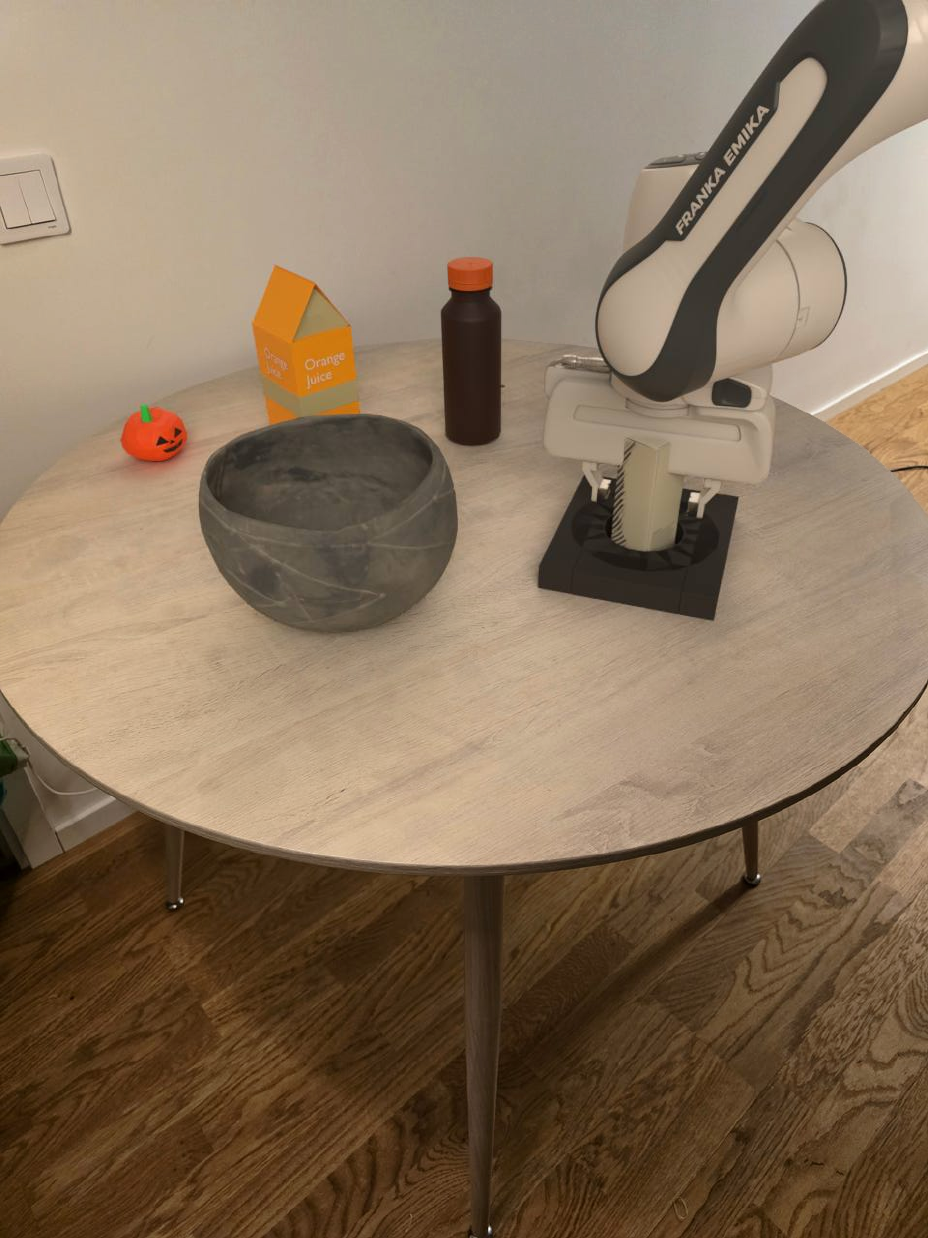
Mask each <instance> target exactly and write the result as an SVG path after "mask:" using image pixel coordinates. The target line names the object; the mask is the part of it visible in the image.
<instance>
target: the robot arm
mask: <svg viewBox="0 0 928 1238" xmlns="http://www.w3.org/2000/svg"><path fill="white" fill-rule="evenodd" d="M927 120H928V0H819V1H818V2H817V3H816V4H815V6H813V7H812V9H811V10H810V11H809V12H808V13H807V14H806V15H805V16H804V18H803V19H802V20H801V21H800V22H799V23H798V25H797V26H796V27H795V28H794V29H793V30H792V32H791V33H790V34H789V35H788V37H787V38H786V39H785V40H784V42H783V43H782V44H781V46H780V47H779V48H778V50H776V52H775V54H774V55H773V56H772V58H770V60H769V62H768V63H767V65H766V66H765V67H764V69H763V70H762V72H761V73H760V74H759V76H758V77H757V78H756V80H755V81H754V82H753V84H752V86H751V87H750V89H749V90H748V92H747V93H746V95H745V96H744V97H743V99H742V100H741V102H740V103H739V105H738V106H737V108H736V109H735V111H734V112H733V113H732V115H731V117H730V118H729V119H728V120H727V123H726V124H725V125H724V127H723V128H722V130H721V132H720V133H719V134H718V135H717V137H716V139H715V140H714V142H713V143H712V145H711V146H710V148H709V149H708V151H699V152H696V153H684V154H679V155H672V156H667V157H660V158H658V159H656V160H654V161H651V162H650V163H648V164H647V165H646V166H645V167H644V168H642V169H641V171H640V173H638V176H637V179H636V181H635V184H634V187H633V189H632V193H631V198H630V201H629V204H628V210H627V216H626V221H625V227H624V234H623V242H622V251H621V255H620V257H619V258H618V259H617V260H616V262H615V263H614V265H613V267H612V268H611V269H610V272H609V273H608V275H607V277H606V279H605V282H604V284H603V286H602V289H601V291H600V294H599V297H598V302H597V306H596V311H595V318H594V332H595V339H596V344H597V348H598V351H599V354H600V355H601V357H593V356H592V357H587V356H586V357H585V356H578V355H576V354H563V355H562V357H561V358H557V359H554V360H553V361H551V362H550V363H548V365H547V367H546V368H545V371H544V393H545V395H546V398H547V399H548V404H547V409H546V413H545V419H544V424H543V431H542V446H543V448H544V449H545V451H546V452H547V453H548V455H549V456H551V457H555V458H562V459H569V460H576V461H577V460H578V461H582V462H581V471H582V473H583V475H584V474H585V476H586V478H587V480H588V482H589V483H590V485H591V486H592V498H591V500H592V501H593V502H599V503H607V502H608V499H609V496H610V487H611V480H607V479H603V477H604V476H603V475H602V473H601V471H600V468H599V466H600V464H605V465H612V466H617V467H618V466H620V465H622V463H623V461H624V439H625V438H629V437H633V438H643V439H652V440H660V441H665V442H669V443H671V448H670V456H669V463H668V473H673V474H680V475H684V476H686V477H687V476H689V477H693V478H701V479H705V480H704V488H703V489H702V490H700V491H701V492H700V493H694V492H691V494H690V498H689V502H688V507H687V508H688V509H687V514H686V516H690V517H696V518H702V517H703V513H704V509H705V504H706V503H707V502H708V501H709V500H710V499H711V498H712V497H713V496H714V495H715V494H716V493H718V492H719V491H720V490H721V486H722V482H730V483H736V484H743V485H750V486H758V485H759V484H761V483H762V482H764V481H765V480H766V479H767V478H769V474H770V470H771V464H772V458H773V451H774V444H775V432H776V406H775V402H774V400H773V397H772V396H771V390H772V386H773V382H774V369H773V364H777V363H779V362H782V361H785V360H788V359H792V358H794V357H797V356H800V355H802V354H804V353H807V352H808V351H811V350H813V349H816V348H818V347H820V346H821V345H822V344H823V343H824V342H826V341H827V339H828V338H829V337H830V336H831V335H832V334H833V332H834V330H835V329H836V327H837V325H838V323H839V321H840V319H841V318H842V314H843V311H844V307H845V305H846V300H847V293H848V274H847V267H846V262H845V259H844V257H843V253H842V251H841V249H840V247H839V246H838V244H837V242H836V241H835V239H834V238H833V237H832V236H831V235H830V234H829V233H828V232H827V230H825V229H824V228H822V226H820V225H818V224H815V223H812V222H809V221H803V220H801V218H799V217H797V216H798V214H799V213H800V212H801V211H802V209H803V208H804V207H805V206H806V204H807V203H808V202H809V201H810V200H811V198H812V197H813V196H814V195H815V194H816V192H818V190H820V188H821V187H823V186H824V185H825V184H826V182H827V181H829V180H830V179H831V178H832V177H833V176H834V175H836V173H838V172H839V171H840V170H842V169H844V168H845V166H847V165H848V164H850V163H851V162H852V161H854V160H855V159H856V158H858V157H860V156H861V155H862V154H865V153H866V152H867V151H869V150H870V149H872V148H873V147H875V146H877V145H879V144H880V143H883V142H884V141H886V140H888V139H889V138H891V137H894V136H895V135H897V134H899V133H901V132H903V131H905V130H907V129H909V128H911V127H914V126H915V125H918V124H920V123H922V122H924V121H927Z"/></svg>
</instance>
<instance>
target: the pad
mask: <svg viewBox="0 0 928 1238" xmlns="http://www.w3.org/2000/svg"><path fill="white" fill-rule="evenodd" d="M602 477H603V479H607V480H611V487H610V496H609V499H608V502H607V503H599V502H593V501H592V500H591V498H592V486H591V485H590V483H589V482H588V480H587V478H586V476H585V474H584V473H583V475H582V478H581V479H580V482H579V484H578V485H577V487H576V490H575V492H574V494H573V496H572V498H571V500H570V502H569V504H568V506H567V508H566V510H565V512H564V514H563V516H562V519H561V520H560V523H559V524H558V527H557V528H556V530H555V533H554V535H553V536H552V539H551V541H550V543H549V545H548V547H547V549H546V551H545V553H544V554H543V557H542V559H541V561H540V562H539V564H538V575H537V588H538V589H542V590H548V591H552V592H553V591H554V592H558V593H565V594H569V595H570V594H571V595H573V596H579V597H584V598H590V599H596V600H601V601H606V602H612V603H616V604H617V603H618V604H622V605H628V606H633V607H638V608H643V609H649V610H654V611H659V612H663V613H664V612H665V613H671V614H676V615H680V616H686V617H690V618H691V617H692V618H696V619H701V620H708V621H715V617H716V611H717V607H718V602H719V597H720V593H721V587H722V582H723V578H724V572H725V569H726V563H727V557H728V554H729V553H728V552H729V548H730V544H731V539H732V538H731V537H732V533H733V529H734V524H735V519H736V514H737V508H738V504H739V498H740V496H738V495H731V494H724V493H718V492H717V493H716V494H715V495H714V496H713V497H712V498H711V499H710V500H709V501H708V502H707V503H706V504H705V509H704V513H703V517H702V518H696V517H690V516H686V514H687V509H688V508H687V507H688V502H689V498H690V494H691V492H694V493H700V492H701V491H702V490H696V489H689V488H684V487H683V488H682V495H681V501H680V508H679V515H678V522H677V529H676V536H675V543H674V547H671V548H668V549H664V550H661V551H639V550H633V549H628V548H626V547H623V546H621V545H619V544H616V543H615V542H614V541H613V540H611V532H612V522H613V511H614V499H615V489H616V480H617V477H616V478H615V477H614V478H613V477H607V476H602Z"/></svg>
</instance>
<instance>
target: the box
mask: <svg viewBox="0 0 928 1238" xmlns="http://www.w3.org/2000/svg"><path fill="white" fill-rule="evenodd" d="M670 448H671V443H669V442H665V441H660V440H652V439H643V438H633V437H629V438H625V439H624V461H623V463H622V465H620V466H617V470H616V479H617V480H616V489H615V499H614V511H613V522H612V532H611V537H610V539H611V540H613V541H614V542H615V543H616V544H619V545H621V546H623V547H626V548H628V549H633V550H639V551H661V550H664V549H668V548H671V547H674V546H675V544H676V543H675V536H676V529H677V522H678V515H679V508H680V501H681V495H682V488H684V481H685V475H680V474H673V473H668V463H669V456H670Z"/></svg>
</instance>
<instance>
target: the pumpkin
mask: <svg viewBox="0 0 928 1238" xmlns="http://www.w3.org/2000/svg"><path fill="white" fill-rule="evenodd" d="M187 440H188V431H187V429H186V428H185V423H184V421H183V420H182V419H181V417H180V416H178V415H177V414H176V413H174V412H173V411H169V410H166V409H164V408H161V407H159V406H155V407H148V405H147V404H144V403H143V404H142V405H140V410H139V411H136V412H135V413H133V414H132V415H131V416H130V417H129V418H128V419H127V420H126V422H125V423H124V426H123V430H122V432H121V437H120V443H121V448H122V449H123V450H124V451H125V453H126V454H128V455H130V456H132V457H133V458H136V459H139V460H141V461H142V460H143V461H147V462H148V461H149V462H162V461H165V460H168V459H170V458H172V457H174V456H175V455H176V454H177V453H178V452H179V451H180V450H181V449H182V448H183V447H184V445H185V443H186V442H187Z"/></svg>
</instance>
